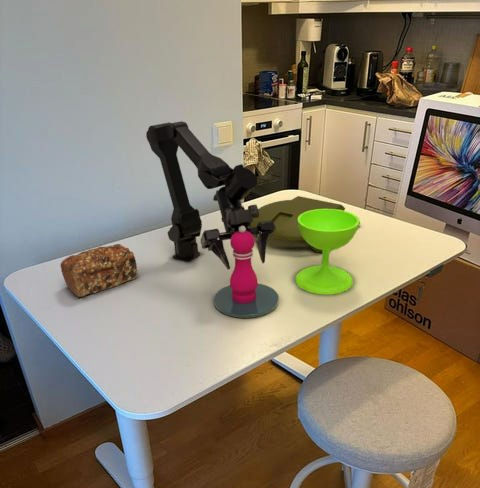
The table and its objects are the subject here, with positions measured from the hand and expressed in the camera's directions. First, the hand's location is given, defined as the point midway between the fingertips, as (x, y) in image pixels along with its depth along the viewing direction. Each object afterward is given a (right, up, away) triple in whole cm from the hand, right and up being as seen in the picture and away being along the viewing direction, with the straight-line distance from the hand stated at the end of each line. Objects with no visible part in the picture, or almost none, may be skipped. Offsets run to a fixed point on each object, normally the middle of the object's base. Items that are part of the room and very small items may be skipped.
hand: (246, 265), depth 123 cm
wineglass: (+22, -3, +15) cm, 27 cm away
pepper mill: (-1, -8, +6) cm, 10 cm away
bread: (-41, -3, +18) cm, 45 cm away
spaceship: (+18, +16, +44) cm, 50 cm away
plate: (0, -9, +7) cm, 11 cm away
